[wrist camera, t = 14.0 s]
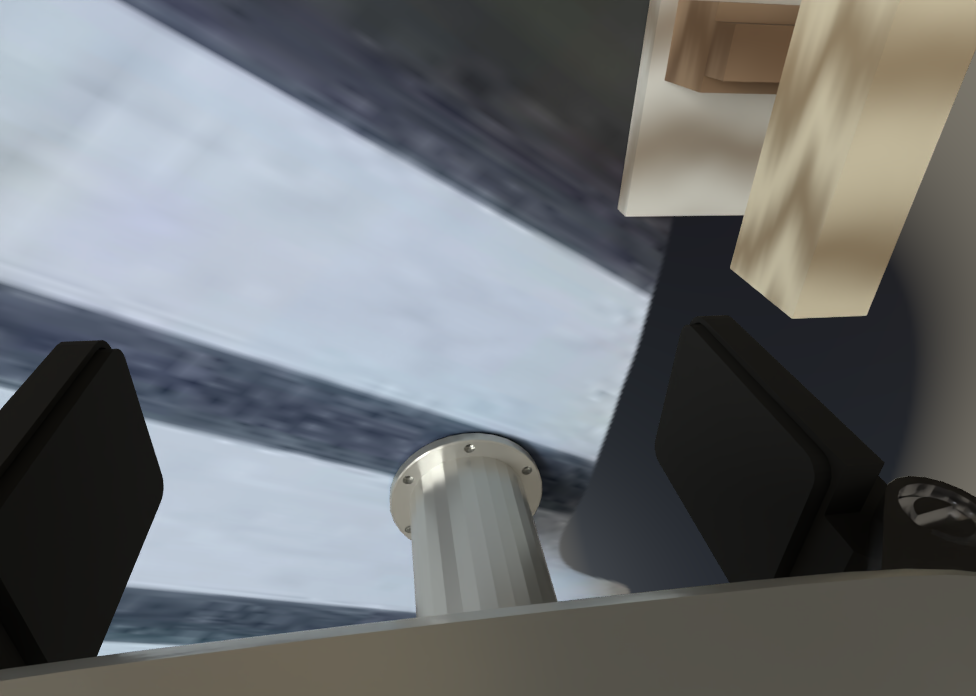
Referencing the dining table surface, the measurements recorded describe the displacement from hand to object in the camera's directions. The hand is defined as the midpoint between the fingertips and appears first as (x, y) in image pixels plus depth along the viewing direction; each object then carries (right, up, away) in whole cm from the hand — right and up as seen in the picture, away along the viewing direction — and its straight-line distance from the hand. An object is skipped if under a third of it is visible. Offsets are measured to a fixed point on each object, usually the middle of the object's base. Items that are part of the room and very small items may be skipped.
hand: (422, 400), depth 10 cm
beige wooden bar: (+17, +15, +18) cm, 29 cm away
